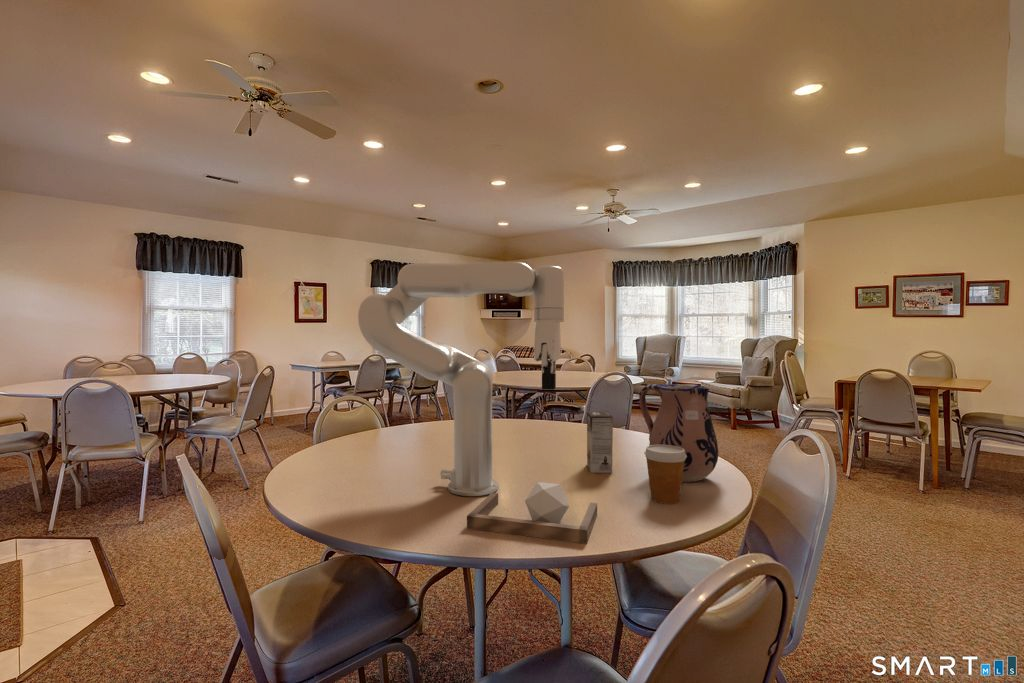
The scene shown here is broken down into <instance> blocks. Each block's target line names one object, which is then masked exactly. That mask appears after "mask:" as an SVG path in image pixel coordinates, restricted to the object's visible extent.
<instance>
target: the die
mask: <svg viewBox="0 0 1024 683" xmlns="http://www.w3.org/2000/svg"><path fill="white" fill-rule="evenodd" d="M566 497H567V496H566V494H565V493H564V489H563V485H561V483H560V484H559V483H552V482H551V483H550V482H541V481H540V482H539V481H537V482H536V484H534V486H533V488H532V490H531V491H530V492H529V494H528V495H527V497H526V498H525V500H524V503H525V505H526V507H527V511H528V513H529V516H530V518H531V521H540V522H548V523H557V524H561V521H562V520H563V517H564V515H566V512H567V511H568V509H569V508H570V504H569V502H568V499H567V498H566Z"/></svg>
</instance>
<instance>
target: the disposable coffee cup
mask: <svg viewBox="0 0 1024 683" xmlns="http://www.w3.org/2000/svg"><path fill="white" fill-rule="evenodd" d="M644 456H645V459H646V464H647V474H648V482H649V483H648V484H649V489H650V498H651V501H654V502H656V503H659V504H663V505H664V504H666V505H667V504H668V505H673V504H677V503H679V502H680V496H681V490H682V483H683V482H682V476H683V469H684V461H685V460H686V457H687V455H686V454H685V450H684V449H683V448H681V447H677V446H672V445H650V446H649V445H647V446H646V447H645V450H644Z"/></svg>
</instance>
